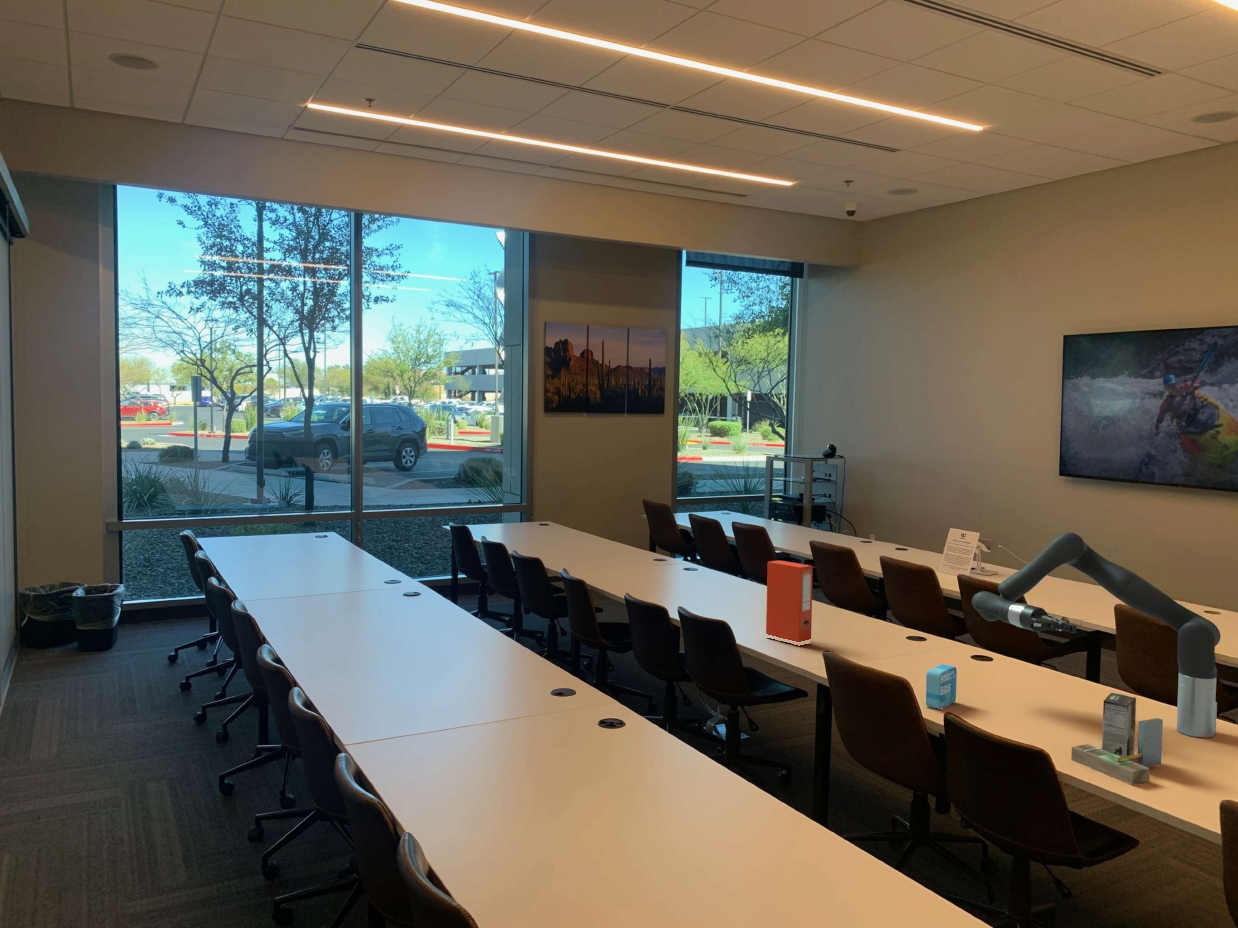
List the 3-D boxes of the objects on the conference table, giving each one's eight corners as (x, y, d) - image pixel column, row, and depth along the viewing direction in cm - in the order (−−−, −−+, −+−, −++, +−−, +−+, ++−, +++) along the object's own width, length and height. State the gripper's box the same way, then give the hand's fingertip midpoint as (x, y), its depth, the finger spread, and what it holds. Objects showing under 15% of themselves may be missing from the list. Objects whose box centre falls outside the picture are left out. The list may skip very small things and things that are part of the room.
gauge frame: (1087, 756, 242) (1088, 743, 242) (1148, 781, 225) (1149, 767, 225) (1071, 759, 240) (1071, 745, 239) (1132, 785, 223) (1132, 770, 223)
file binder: (778, 635, 374) (780, 559, 372) (811, 643, 361) (812, 565, 359) (765, 638, 369) (767, 561, 367) (798, 646, 356) (799, 567, 354)
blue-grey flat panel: (1155, 762, 235) (1157, 717, 235) (1161, 764, 234) (1162, 719, 233) (1113, 770, 229) (1115, 725, 229) (1118, 773, 228) (1120, 727, 227)
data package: (938, 710, 279) (939, 673, 278) (925, 707, 282) (926, 670, 282) (956, 702, 287) (957, 665, 287) (942, 699, 291) (943, 662, 290)
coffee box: (1108, 749, 247) (1110, 691, 246) (1135, 754, 243) (1137, 696, 242) (1100, 758, 240) (1102, 699, 240) (1127, 764, 236) (1129, 704, 235)
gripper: (1011, 606, 274) (1058, 618, 258) (1043, 603, 279) (1091, 614, 263) (1010, 630, 275) (1057, 643, 259) (1042, 626, 280) (1090, 639, 264)
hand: (1074, 629), depth 261 cm, fingers closed
